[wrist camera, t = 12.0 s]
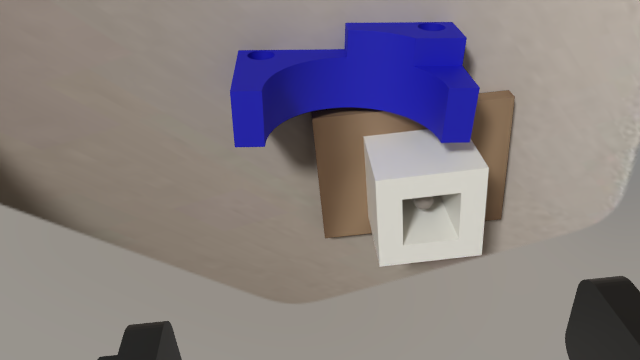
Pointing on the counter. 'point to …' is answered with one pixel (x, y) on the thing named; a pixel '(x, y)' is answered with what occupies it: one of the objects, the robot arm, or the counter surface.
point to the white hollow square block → (424, 181)
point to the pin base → (353, 123)
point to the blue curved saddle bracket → (360, 80)
